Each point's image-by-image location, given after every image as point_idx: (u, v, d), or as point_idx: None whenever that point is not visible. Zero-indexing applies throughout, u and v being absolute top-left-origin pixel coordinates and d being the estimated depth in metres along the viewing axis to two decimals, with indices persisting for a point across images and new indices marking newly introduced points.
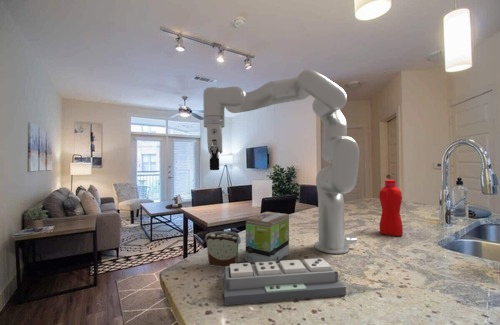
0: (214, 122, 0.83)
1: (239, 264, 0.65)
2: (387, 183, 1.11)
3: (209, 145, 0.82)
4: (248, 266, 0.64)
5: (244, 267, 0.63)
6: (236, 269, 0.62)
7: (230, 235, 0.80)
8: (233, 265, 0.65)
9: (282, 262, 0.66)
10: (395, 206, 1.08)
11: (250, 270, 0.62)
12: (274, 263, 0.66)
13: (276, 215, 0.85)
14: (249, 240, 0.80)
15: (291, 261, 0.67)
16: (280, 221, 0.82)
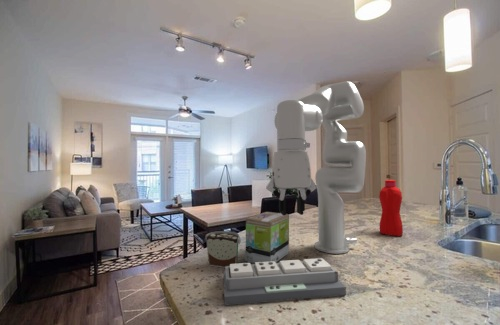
0: None
1: (239, 264, 0.65)
2: (387, 183, 1.11)
3: (310, 178, 0.64)
4: (248, 266, 0.64)
5: (244, 267, 0.63)
6: (236, 269, 0.62)
7: (230, 235, 0.80)
8: (233, 265, 0.65)
9: (282, 262, 0.66)
10: (395, 206, 1.08)
11: (250, 270, 0.62)
12: (274, 263, 0.66)
13: (276, 215, 0.85)
14: (249, 240, 0.80)
15: (291, 261, 0.67)
16: (280, 221, 0.82)
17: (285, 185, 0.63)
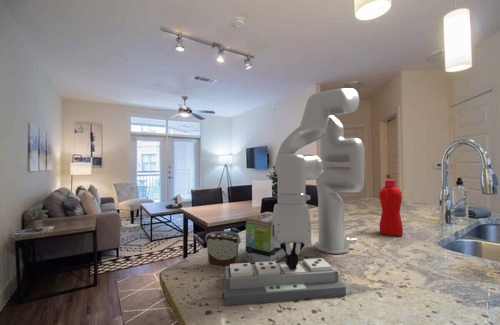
0: None
1: (239, 264, 0.65)
2: (387, 183, 1.11)
3: None
4: (248, 266, 0.64)
5: (244, 267, 0.63)
6: (236, 269, 0.62)
7: (230, 235, 0.80)
8: (233, 265, 0.65)
9: (282, 266, 0.66)
10: (395, 206, 1.08)
11: (250, 270, 0.62)
12: (274, 263, 0.66)
13: None
14: (249, 240, 0.80)
15: None
16: None
17: (285, 240, 0.63)
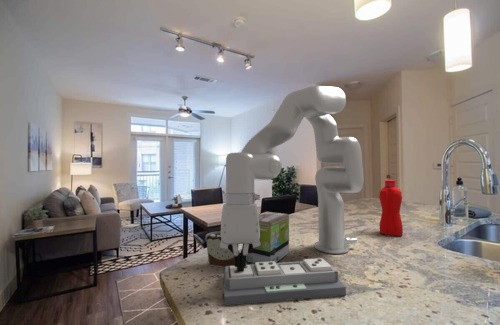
0: None
1: None
2: (387, 183, 1.11)
3: (259, 233, 0.62)
4: (248, 268, 0.64)
5: (244, 269, 0.63)
6: (236, 271, 0.62)
7: None
8: (233, 267, 0.65)
9: (282, 266, 0.66)
10: (395, 206, 1.08)
11: (250, 272, 0.62)
12: (274, 263, 0.66)
13: (276, 215, 0.85)
14: None
15: (291, 265, 0.67)
16: (280, 221, 0.82)
17: (232, 241, 0.61)
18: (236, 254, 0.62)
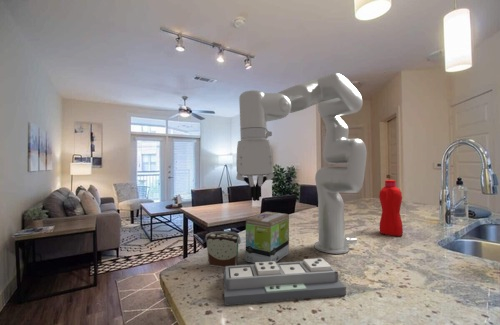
0: (266, 137, 0.69)
1: (239, 269, 0.65)
2: (387, 183, 1.11)
3: (272, 165, 0.68)
4: (248, 271, 0.64)
5: (244, 272, 0.63)
6: (236, 274, 0.62)
7: (230, 235, 0.80)
8: (233, 270, 0.65)
9: (282, 266, 0.66)
10: (395, 206, 1.08)
11: (250, 275, 0.62)
12: (274, 263, 0.66)
13: (276, 215, 0.85)
14: (249, 240, 0.80)
15: (291, 265, 0.67)
16: (280, 221, 0.82)
17: (248, 172, 0.66)
18: (252, 185, 0.67)
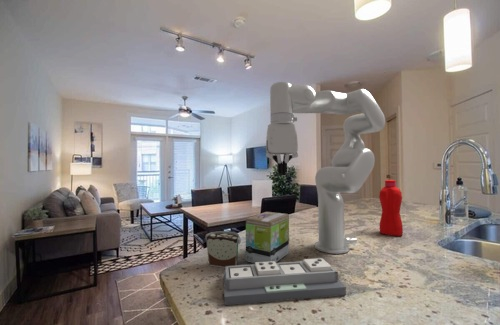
0: None
1: (239, 269, 0.65)
2: (387, 183, 1.11)
3: (297, 146, 0.80)
4: (248, 271, 0.64)
5: (244, 272, 0.63)
6: (236, 274, 0.62)
7: (230, 235, 0.80)
8: (233, 270, 0.65)
9: (282, 266, 0.66)
10: (395, 206, 1.08)
11: (250, 275, 0.62)
12: (274, 263, 0.66)
13: (276, 215, 0.85)
14: (249, 240, 0.80)
15: (291, 265, 0.67)
16: (280, 221, 0.82)
17: (276, 150, 0.78)
18: (279, 162, 0.79)
